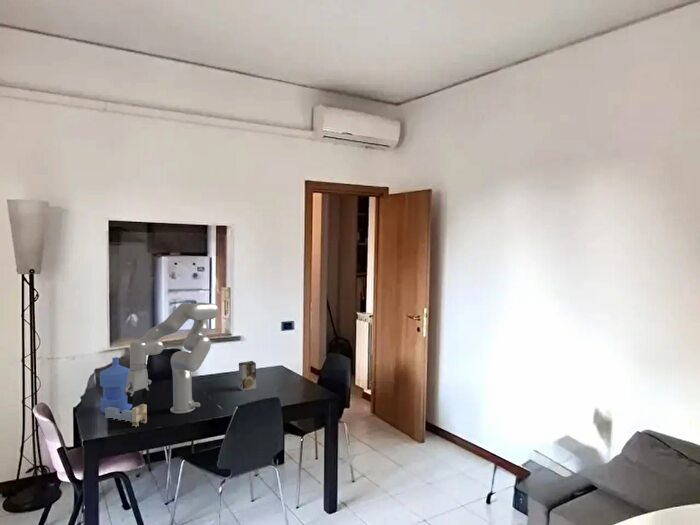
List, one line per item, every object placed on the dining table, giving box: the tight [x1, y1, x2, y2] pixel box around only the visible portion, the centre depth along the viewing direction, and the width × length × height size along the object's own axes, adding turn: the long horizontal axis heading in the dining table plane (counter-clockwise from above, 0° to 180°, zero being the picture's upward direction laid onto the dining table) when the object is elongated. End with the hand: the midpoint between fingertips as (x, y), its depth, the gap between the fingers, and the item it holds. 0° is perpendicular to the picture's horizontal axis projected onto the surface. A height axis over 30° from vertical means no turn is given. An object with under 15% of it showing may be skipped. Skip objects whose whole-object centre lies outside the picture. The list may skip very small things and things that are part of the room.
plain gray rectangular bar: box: [104, 407, 132, 423], centre depth 258 cm, size 18×3×5 cm, turn 69°
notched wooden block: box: [131, 403, 148, 428], centre depth 251 cm, size 7×3×9 cm, turn 160°
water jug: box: [99, 357, 133, 414], centre depth 273 cm, size 16×16×28 cm
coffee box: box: [238, 360, 257, 392], centre depth 311 cm, size 9×6×16 cm
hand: (137, 401), depth 250 cm, fingers open, 9 cm apart
